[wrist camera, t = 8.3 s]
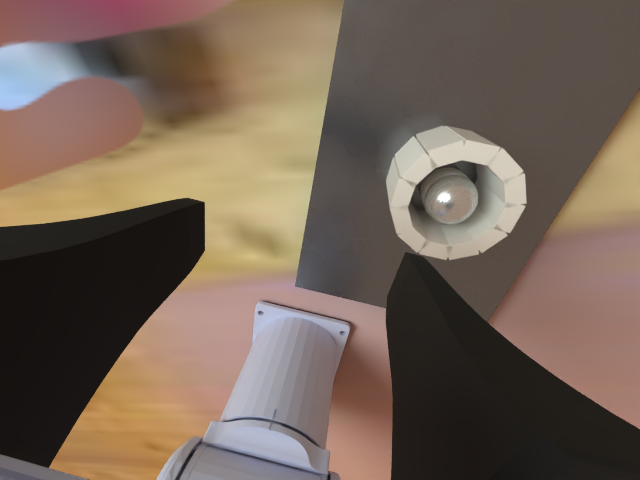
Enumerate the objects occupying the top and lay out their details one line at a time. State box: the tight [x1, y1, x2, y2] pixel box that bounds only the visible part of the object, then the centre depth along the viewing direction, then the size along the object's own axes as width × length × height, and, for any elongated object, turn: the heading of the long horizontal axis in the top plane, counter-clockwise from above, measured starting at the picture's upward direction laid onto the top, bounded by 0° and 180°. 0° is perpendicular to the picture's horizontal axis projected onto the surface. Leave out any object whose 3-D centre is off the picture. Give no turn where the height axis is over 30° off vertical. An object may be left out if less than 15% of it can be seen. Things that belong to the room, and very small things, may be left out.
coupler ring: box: [386, 125, 527, 260], centre depth 15 cm, size 6×6×4 cm
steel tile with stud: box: [295, 0, 640, 322], centre depth 15 cm, size 20×14×5 cm
